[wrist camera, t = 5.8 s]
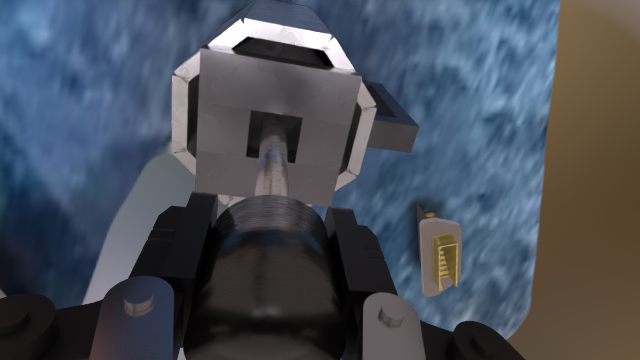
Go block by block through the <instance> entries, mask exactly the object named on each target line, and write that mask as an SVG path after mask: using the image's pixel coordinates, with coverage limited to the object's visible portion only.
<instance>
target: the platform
mask: <svg viewBox="0 0 640 360" xmlns="http://www.w3.org/2000/svg"><path fill="white" fill-rule="evenodd" d="M416 207H417V227H418V248H419V260H420V262H421V273H422V291H423V294H424V296H425V297H431V296H436V295H439V294H440V293H442V292H443V291H444V290H446V289H447V288H448V287H450V286H451V285H452V284H453V283H454V285H455V286H456V287H457V280H459V279H460V277H461V251H462V229H461V227H460V225H459V224H458V223H457V222H455V221H450V220H445V219H440V218H438V217H437V216H436V214H435V212H431V213H426V214H424V212H423V211H422V209H421V207H420V205H419V204H418V203H416ZM432 216H435V217H432ZM427 217H430V218H427ZM442 248H443V250H441V249H442ZM443 253H444V255H442V254H443ZM441 259H442V260H441ZM443 259H446V260H443ZM446 263H447V264H446ZM442 264H443V265H442ZM445 264H446V265H445ZM440 265H441V266H440ZM447 268H448V269H447ZM443 269H444V270H443ZM446 269H447V270H446ZM440 270H442V271H440Z"/></svg>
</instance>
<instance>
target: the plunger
mask: <svg viewBox="0 0 640 360" xmlns="http://www.w3.org/2000/svg"><path fill="white" fill-rule="evenodd" d="M235 50H241V51H246V52H252V53H258V54H263V55H269V56H275V57H280V58H286V59H291V60H297V61H303V62H308V63H314V64H320V65H324V64H323V62H322V60H321V59H320V58H319V56H318V55H317V54H316V53H315V52H314V51H313V50H312V49H311V48H309V47H303V46H298V45H293V44H287V43H282V42H276V41H271V40H266V39H260V38H252V39H249V40H247V41H245V42H244V43H242V44H240V45H239V46H238V47H236V48H235ZM300 119H301V117H296V116H289V115H282V114H276V113H269V112H262V111H256V110H251V119H250V128H249V138H248V145H249V146H252V147H254V148H257V149H260V151H259V160H258V169H257V178H256V187H255V196H253V197H249V198H246V199H243V200H241V201H238V202H237V203H235V204H233V205H231V206H230V207H229V208H227V209H226V210H225V211H224V212H223V213H222V214H221V215H220V216H219V218H218V219H217V220H216V222H215V224H214V226H213V228H212V232H211V236H210V239H209V243H208V247H207V251H206V255H205V259H204V263H203V267H202V270H201V274H200V278H199V282H198V286H197V290H196V294H195V298H194V301H193V305H192V308H191V312H190V315H189V319H188V323H187V327H186V331H185V335H184V340H183V351H184V355H185V358H186V360H340V359H341V358H342V355H343V353H344V351H345V347H346V331H345V326H344V320H343V315H342V309H341V304H340V298H339V293H338V287H337V282H336V276H335V271H334V265H333V260H332V254H331V249H330V243H329V238H328V232H327V229H326V226H325V224H324V222H323V220H322V219H321V217H320V216H319V215H318V214H317V213H316V212H315V211H314V210H313V209H312V208H311V207H309V206H308V205H306V204H305V203H303V202H301V201H299V200H296V199H294V198H290V197H289V184H288V160H287V150H292V149H295V147H296V142H297V136H298V130H299V125H300Z"/></svg>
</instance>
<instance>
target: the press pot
mask: <svg viewBox="0 0 640 360" xmlns="http://www.w3.org/2000/svg"><path fill="white" fill-rule="evenodd" d="M252 38H260V39H266V40H271V41H276V42H282V43H287V44H293V45H298V46H303V47H309V48H311V49H312V50H313V51H314V52H315V53H316V54H317V55H318V56H319V58H320V59H321V60H322V62H323V64H324V65H320V64H314V63H308V62H303V61H297V60H291V59H286V58H280V57H275V56H269V55H263V54H258V53H252V52H246V51H241V50H235V48H236V47H238V46H239V45H240V44H242V43H244V42H245V41H247V40H249V39H252ZM174 72H175V73H174V74H173V75H172V151H175V153H174V156H175V157H176V158H177V159H179V161H181V163H182V164H184V165H185V166H186V167H187V168H188V169H189V170H190V171H191V172H192V173H193V174H194V175H195V176H196V180H195V191H196V192H205V193H215V194H218V199H219V200H220V201H221V202H222V203H223V204H224V205H225V204H227V203H228V207H230V206H231V205H233V204H235V203H237V202H238V201H241V200H243V199H246V198H249V197H253V196H255V187H256V178H257V169H258V160H259V151H260V149H257V148H254V147H252V146H249V145H248V138H249V128H250V119H251V110H256V111H262V112H269V113H276V114H282V115H289V116H296V117H301V119H300V125H299V130H298V136H297V142H296V147H295V149H292V150H287V160H288V184H289V197H290V198H294V199H296V200H299V201H301V202H303V203H305V204H306V205H308V206H309V207H310V206H312V205H318V206H327V207H331V204H332V200H333V196H334V191H336V190H338V189H339V188H341V187H342V186H344V185H346V184H347V183H349V182H350V181H352V180H354V179H355V178H356V175H359V172H360V168H361V165H362V161H363V157H364V154H365V150H366V146H367V147H374V148H381V149H388V150H395V151H402V152H409V153H411V150H412V147H413V144H414V141H415V138H416V135H417V132H418V129H419V126H418V125H417V124H416V123H415V122H414V120H413V119H412V118H411V117H410V116H409V115H408V114H407V113H406V111H405V110H404V109H403V108H402V107H401V106H400V105H399V103H398V102H397V101H396V100H395V99H394V98H393V97H392V96H391V94H390V93H389V92H388V91H387V90H386V89H385V88H384V86H383V85H382V84H379V83H373V82H368V81H362V75H361V74H360V73H359V71H355V69H354V68H353V66H352V64H351V63H350V61H349V60H348V58H347V56H346V55H345V53H344V52H343V50H342V48H341V47H340V45H339V43H338V42H337V40H336V39H335V37H334V36H333V35H332V33H331V32H330V31H329V30H328V28H327V27H326V26H325V25H324V23H323V22H322V21H321V20H320V18H319V17H318V16H317V15H316V13H315V12H314V11H313V10H312V9H311V8H310V7H307V6H302V5H297V4H293V3H290V2H286V1H280V0H253V1H252V2H251V3H250V4H248V5H247V6H246V7H244V8H243V9H241V10H240V11H238V12H237V13H236V14H235V15H234V16H233V17H232V18H231V19H229V20H228V21H227V22H226V23H224V24H223V25H222V26H221V27H219V28H218V29H217V30H216V31H215V32H214V33H213V34H212V35H211V36H210V37H209V38H208V39H207V40H206V41H205V42H204V43H203V44H202V45H201V46H200V47H199V48H198V49H197V50H196V51H194V52H193V53H192V54H191V55H190V56H189V57H188V58H187V59H186V60H185V61H184V62H183V63H182V64H181V65H180V66H179V67H178V68H177V69H176V70H175V71H174Z"/></svg>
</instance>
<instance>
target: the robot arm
mask: <svg viewBox="0 0 640 360" xmlns="http://www.w3.org/2000/svg"><path fill="white" fill-rule="evenodd" d="M217 207H218V194H215V193H205V192H196V191H193V192H192V193H191V196H190V199H189V201H188V204H187V206H186V207H179V206H171V207H169V208H168V209H167V210H165V211H164V212H163V213H161V214H160V215H159V216H158V218H157V220H156V222H155V224H154V226H153V230H152V231H151V233H150V235H149V237H148V240H147V241H146V243H145V245H144V247H143V249H142V251H141V253H140V255H139V257H138V259H137V261H136V263H135V265H134V267H133V270H132V272H131V274H130V276H129V278H128V279H126V280H124V281H122V282H120V283H118V284H116V285H115V286H114V287H112V288H111V289H110V290H109V291H108V292H107V294H106V295H105V297H104V299H102V300H100V301H97V302H94V303H90V304H85V305H80V306H74V307H68V308H63V309H57V310H55V306H54V304H53V302H52V301H51V300H50V299H49V298H47V297H45V296H42V295H39V294H17V295H11V296H8V297H4V298H1V299H0V360H177V358H178V354H179V350H180V348H183V340H184V335H185V331H186V327H187V323H188V319H189V315H190V312H191V308H192V305H193V301H194V298H195V294H196V290H197V286H198V282H199V278H200V274H201V270H202V267H203V263H204V259H205V255H206V251H207V247H208V243H209V239H210V236H211V232H212V228H213V226H214V224H215V222H216V220H217ZM324 224H325V226H326V229H327V232H328V238H329V243H330V249H331V254H332V260H333V265H334V271H335V276H336V282H337V287H338V293H339V298H340V304H341V309H342V315H343V320H344V326H345V331H346V347H345V351H344V353H343V355H342V360H525V359H524V358H523V357H522V356H521V355H520V354H519V353H518V352H517V351H516V350H515V349H514V348H513V347H512V346H511V345H510V344H509V343H508V342H507V341H506V340H505V339H504V338H503V337H502V336H501V335H500V334H499V333H498V332H496V331H495V330H493V329H492V328H490V327H488V326H486V325H484V324H482V323H479V322H475V321H464V322H461V323H459V324H458V325H457V326H456V328H455V329H454V331H453V332H451V331H448V330H445V329H442V328H439V327H436V326H433V325H430V324H428V323H425V322H423V321H421V320H419V316H418V314H417V312H416V311H415V309H414V308H413V307H412V306H411V305H410V304H409V303H408V302H407V301H405V300H404V299H402V298H401V297H399V296H398V294H397V291H396V289H395V286H394V283H393V280H392V278H391V275H390V272H389V269H388V267H387V264H386V261H384V259H385V258H384V256H383V253H382V251H381V247H380V244H379V242H378V239H377V237H376V236H375V234H374V233H373V232H372V231H371V230H370V229H369V228H368V227H367V226H361V225H357V222H356V218H355V215H354V212H353V210H352V209H348V208H339V207H328V209H327V213H326V217H325V221H324Z"/></svg>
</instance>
